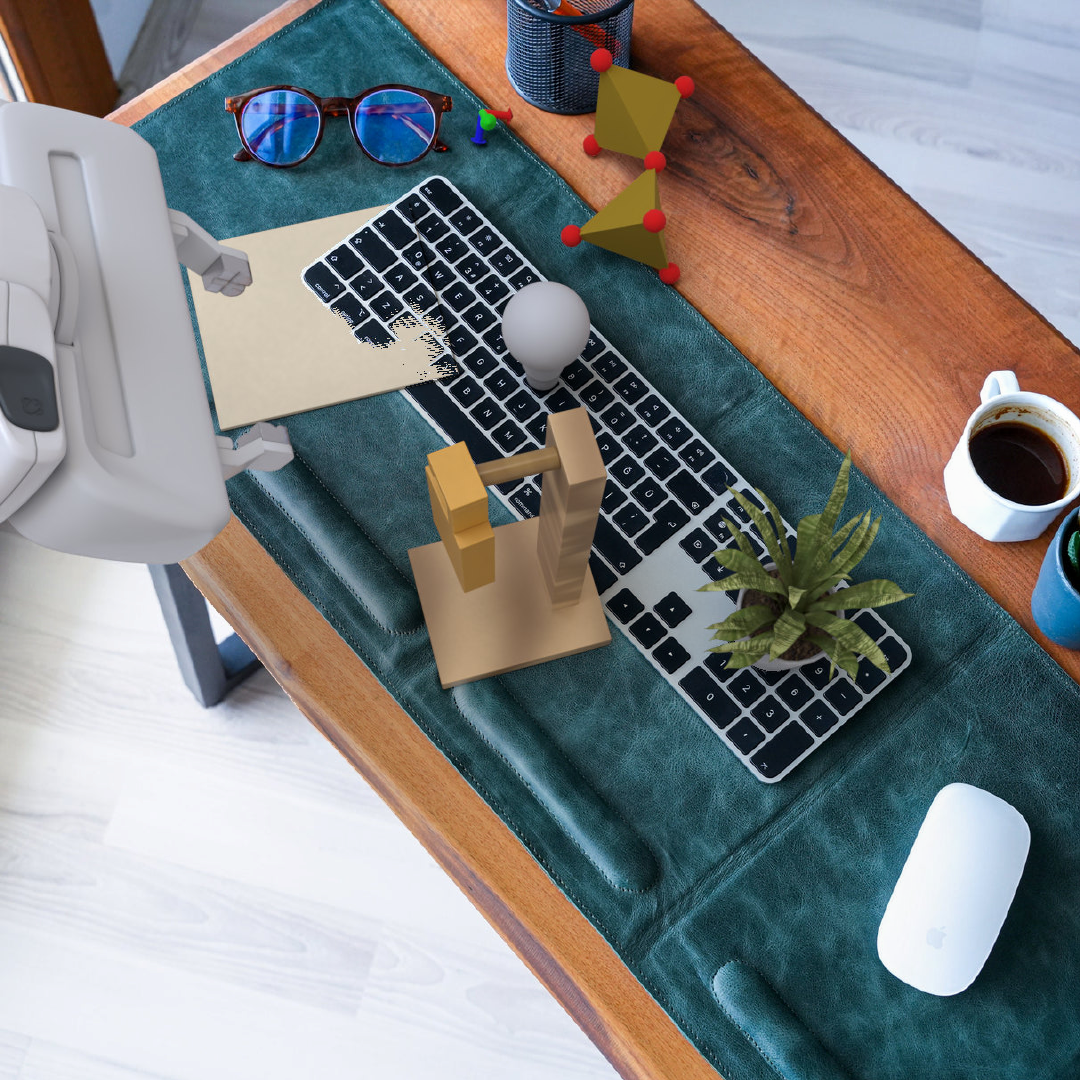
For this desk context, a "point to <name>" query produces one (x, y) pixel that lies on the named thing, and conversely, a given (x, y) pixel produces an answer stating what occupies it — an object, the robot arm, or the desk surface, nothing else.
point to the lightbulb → (545, 330)
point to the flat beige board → (298, 333)
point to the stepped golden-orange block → (462, 515)
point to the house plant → (800, 591)
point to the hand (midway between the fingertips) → (263, 360)
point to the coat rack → (524, 568)
